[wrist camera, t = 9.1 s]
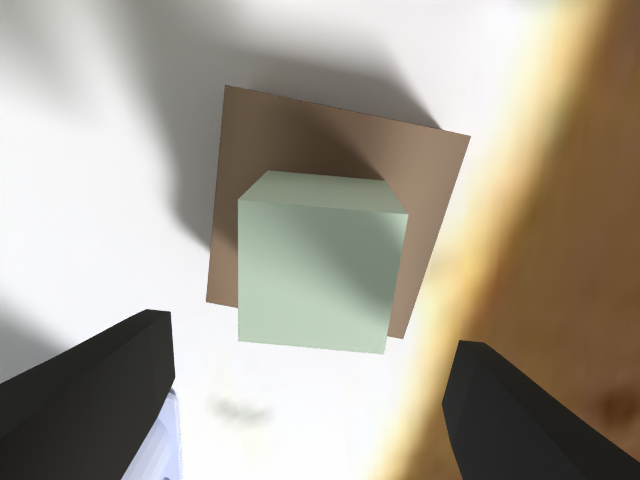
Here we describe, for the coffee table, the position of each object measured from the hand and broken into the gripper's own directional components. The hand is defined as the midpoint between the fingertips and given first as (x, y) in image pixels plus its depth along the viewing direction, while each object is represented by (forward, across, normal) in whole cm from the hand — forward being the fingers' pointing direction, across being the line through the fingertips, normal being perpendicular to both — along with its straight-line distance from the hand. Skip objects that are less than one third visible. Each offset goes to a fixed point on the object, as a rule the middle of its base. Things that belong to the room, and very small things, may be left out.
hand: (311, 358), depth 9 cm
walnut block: (+10, 0, -1) cm, 10 cm away
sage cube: (+6, 0, -1) cm, 6 cm away
